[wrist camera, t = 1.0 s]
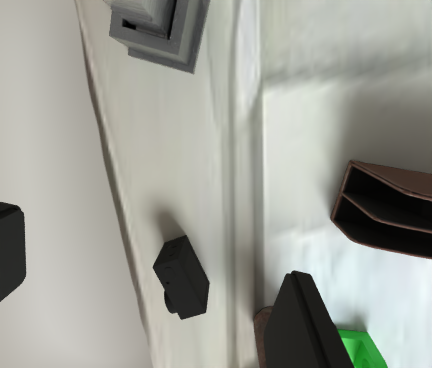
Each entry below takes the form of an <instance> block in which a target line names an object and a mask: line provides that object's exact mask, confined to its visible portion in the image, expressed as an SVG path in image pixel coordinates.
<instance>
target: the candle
mask: <svg viewBox="0 0 432 368" xmlns="http://www.w3.org/2000/svg"><path fill="white" fill-rule="evenodd" d="M272 309H273V307H266V308H264V309H263V310H261V311H260V312H259V313H258V314H257V315H256V317H255V320H254V332H255V339H256V346H257V353H258V360H259V366H260V368H267V366H266V358H265V350H264V342H263V336H264V330H265V327H266V325H267V322H268V319H269V317H270V314H271V311H272Z"/></svg>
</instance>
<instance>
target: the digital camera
mask: <svg viewBox="0 0 432 368" xmlns="http://www.w3.org/2000/svg"><path fill="white" fill-rule="evenodd" d="M169 246H170V247H169ZM153 269H154V271H155V273H156V275H157V277H158V278H159V280H160V282H161V284H162V286H163V288H164V289H165V291H164V299H165V304H166V307H167V309H168V311H169V312H170V313H172V314H173V313H178V315H179V317H180V319H181V320H183V319H186V318H190V317H193V316H197V315H200V314H204V313H206V309H207V301H208V292H209V284H210V283H209V281H208V279H207V277H206V274H205V272H204V270H203V268H202V266H201V264H200V262H199V260H198V258H197V256H196V254H195V252H194V250H193V248H192V246H191V244H190V242H189V239H188V237H187V235H185V237H184V236H182V237H180V238H177V239H174V240H171V241H168V242H165V243H164V245H163V247H162V249H161V251H160V253H159V255H158V257H157V259H156V261H155V263H154V265H153Z"/></svg>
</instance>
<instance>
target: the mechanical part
mask: <svg viewBox="0 0 432 368" xmlns="http://www.w3.org/2000/svg"><path fill="white" fill-rule="evenodd" d="M337 330H338V332H339V334H340V336H341V339H342V341H343V343H344V345H345V347H346V349H347V352H348V354H349V356H350V358H351V360H352V362H353V365H354V367H355V368H388V367H387V364H386V362H385V360H384V359H383V357H382V355H381V354H380V352H379V350H378V349H377V347H376V345H375V344H374V342H373V341H372V339H371V337H370V336H369V334H368V333H367V332H358V331H349V330H341V329H337Z"/></svg>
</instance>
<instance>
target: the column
mask: <svg viewBox="0 0 432 368" xmlns="http://www.w3.org/2000/svg"><path fill="white" fill-rule="evenodd" d="M103 1H105V2H106V3H107V4H108V5H109V6H110V7H111V10H113V11H115V12H117V13H119V14H120V15H121V16H120V17H121V18H122V19H125V20H127V21H128V22H129V23H130V24H132V25H133V26H134V27H135V28H136V31H140V32H143V33H147V34H150V35H154V36H157V37H160V38H164V39H167V40H170V36H171V30H172V25H173V20H174V14H175V9H176V3H177V0H103Z"/></svg>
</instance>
